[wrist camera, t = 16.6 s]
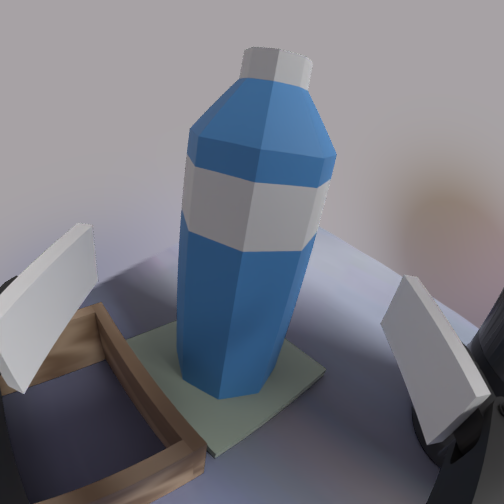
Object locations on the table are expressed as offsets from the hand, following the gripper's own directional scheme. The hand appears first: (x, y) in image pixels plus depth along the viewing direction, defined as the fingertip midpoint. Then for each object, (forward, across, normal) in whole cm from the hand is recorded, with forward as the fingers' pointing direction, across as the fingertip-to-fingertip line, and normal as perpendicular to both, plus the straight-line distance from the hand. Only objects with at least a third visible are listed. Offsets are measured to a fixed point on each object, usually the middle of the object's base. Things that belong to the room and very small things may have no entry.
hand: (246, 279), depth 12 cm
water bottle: (+9, 0, -15) cm, 18 cm away
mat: (+9, 0, -16) cm, 18 cm away
